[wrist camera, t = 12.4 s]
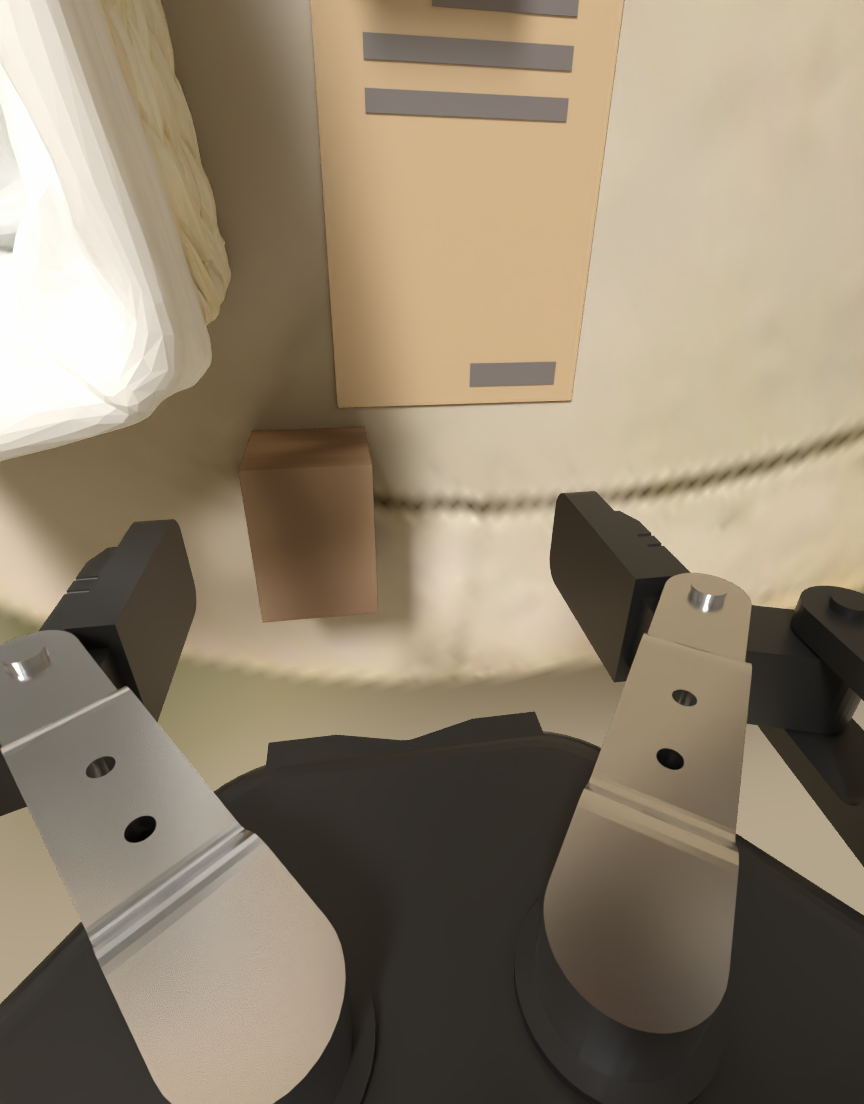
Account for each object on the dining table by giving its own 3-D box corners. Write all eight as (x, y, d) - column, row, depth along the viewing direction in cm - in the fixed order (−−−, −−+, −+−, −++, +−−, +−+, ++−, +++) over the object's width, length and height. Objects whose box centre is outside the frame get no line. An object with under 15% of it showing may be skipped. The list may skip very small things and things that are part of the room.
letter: (626, -30, 20) (628, -32, 20) (570, 399, 27) (571, 400, 27) (306, -59, 18) (305, -61, 18) (337, 407, 26) (337, 407, 26)
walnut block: (363, 426, 27) (372, 464, 22) (369, 557, 30) (377, 612, 26) (252, 430, 26) (238, 470, 22) (271, 564, 29) (262, 622, 25)
